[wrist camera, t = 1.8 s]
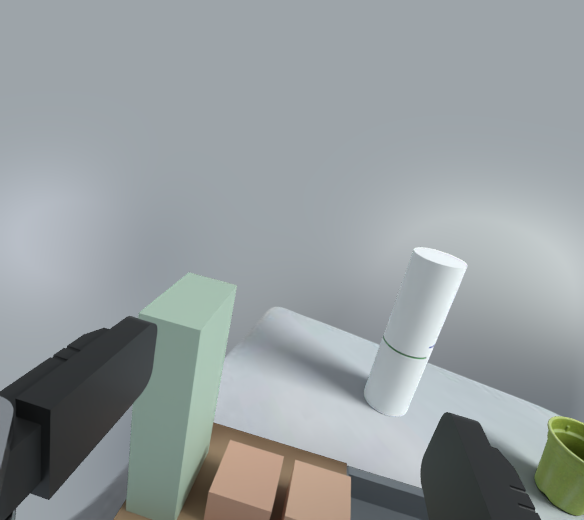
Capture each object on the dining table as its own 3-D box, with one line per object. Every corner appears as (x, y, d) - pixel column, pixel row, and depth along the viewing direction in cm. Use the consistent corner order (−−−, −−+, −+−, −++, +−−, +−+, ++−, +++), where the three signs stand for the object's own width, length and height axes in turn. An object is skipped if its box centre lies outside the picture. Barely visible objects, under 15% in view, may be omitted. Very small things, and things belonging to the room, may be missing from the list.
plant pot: (515, 450, 53) (542, 405, 50) (589, 483, 50) (622, 438, 47) (525, 502, 45) (558, 452, 42) (614, 547, 42) (656, 496, 39)
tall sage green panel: (169, 440, 35) (188, 272, 28) (208, 452, 34) (236, 285, 28) (125, 510, 28) (138, 312, 22) (173, 526, 28) (200, 330, 21)
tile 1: (287, 487, 33) (295, 459, 31) (340, 504, 32) (350, 476, 31) (276, 545, 28) (284, 515, 27) (338, 566, 28) (350, 537, 26)
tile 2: (224, 467, 33) (230, 439, 32) (276, 484, 33) (284, 456, 31) (203, 521, 28) (208, 491, 27) (263, 541, 28) (271, 512, 27)
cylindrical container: (415, 405, 58) (475, 264, 49) (392, 423, 53) (454, 271, 44) (379, 378, 62) (428, 245, 53) (354, 393, 57) (404, 249, 49)
